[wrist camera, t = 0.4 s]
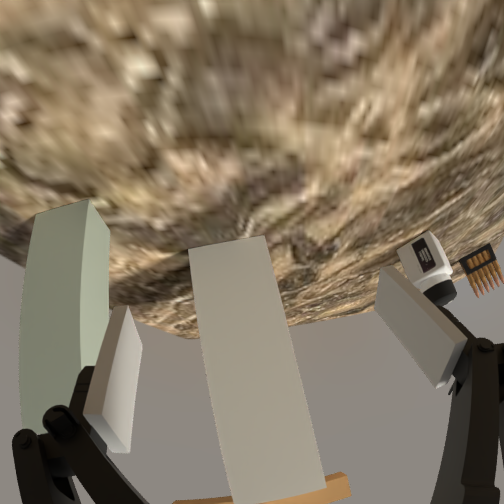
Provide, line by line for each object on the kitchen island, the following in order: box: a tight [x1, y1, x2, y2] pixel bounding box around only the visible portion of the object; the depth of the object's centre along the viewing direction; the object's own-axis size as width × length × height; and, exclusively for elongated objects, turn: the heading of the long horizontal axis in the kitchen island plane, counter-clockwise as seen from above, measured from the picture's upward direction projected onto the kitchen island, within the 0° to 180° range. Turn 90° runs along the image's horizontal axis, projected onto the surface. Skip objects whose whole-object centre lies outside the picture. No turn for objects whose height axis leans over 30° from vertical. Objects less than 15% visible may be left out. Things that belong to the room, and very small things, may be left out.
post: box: [188, 235, 327, 504], centre depth 36 cm, size 8×10×32 cm
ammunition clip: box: [459, 243, 504, 298], centre depth 67 cm, size 11×2×12 cm, turn 123°
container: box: [397, 230, 457, 306], centre depth 52 cm, size 8×8×13 cm
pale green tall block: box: [19, 199, 110, 434], centre depth 25 cm, size 6×7×22 cm
